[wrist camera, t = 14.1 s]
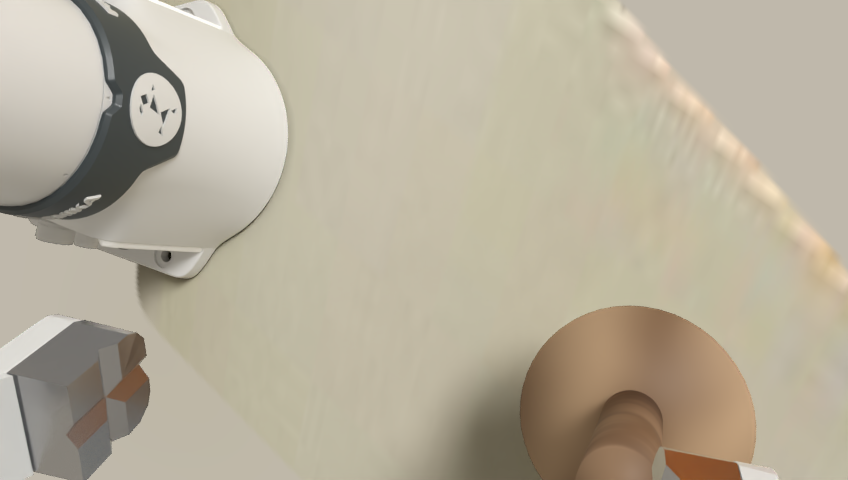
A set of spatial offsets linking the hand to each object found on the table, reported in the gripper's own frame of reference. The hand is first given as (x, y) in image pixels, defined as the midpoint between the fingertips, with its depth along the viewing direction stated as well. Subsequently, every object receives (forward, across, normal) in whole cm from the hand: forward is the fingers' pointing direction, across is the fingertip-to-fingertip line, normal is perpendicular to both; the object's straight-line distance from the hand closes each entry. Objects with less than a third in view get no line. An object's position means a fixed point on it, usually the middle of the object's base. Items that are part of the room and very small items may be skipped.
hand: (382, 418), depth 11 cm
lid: (+18, -7, +13) cm, 24 cm away
